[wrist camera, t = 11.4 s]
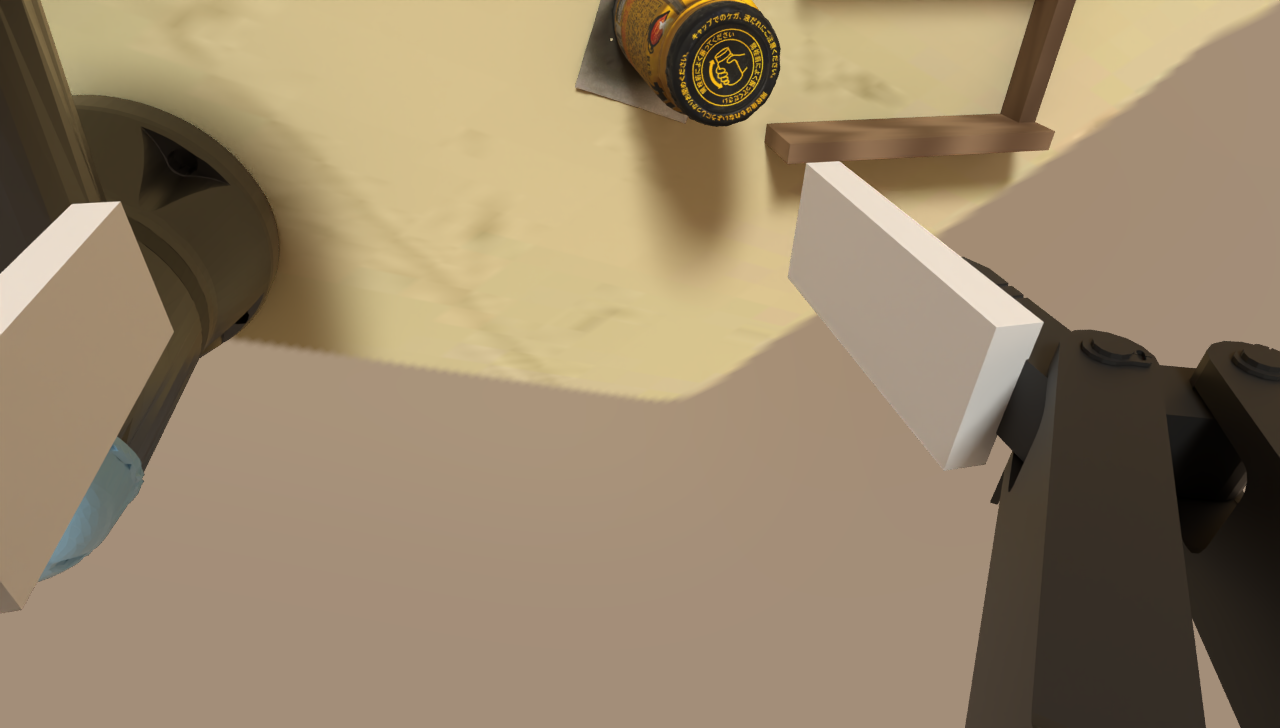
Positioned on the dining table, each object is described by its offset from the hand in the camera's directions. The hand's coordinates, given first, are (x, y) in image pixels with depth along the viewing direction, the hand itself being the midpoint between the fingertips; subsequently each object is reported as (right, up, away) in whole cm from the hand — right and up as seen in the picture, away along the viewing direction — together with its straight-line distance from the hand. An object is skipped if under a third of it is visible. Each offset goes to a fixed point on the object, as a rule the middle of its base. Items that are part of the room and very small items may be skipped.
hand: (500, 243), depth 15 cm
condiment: (+4, +17, +27) cm, 32 cm away
